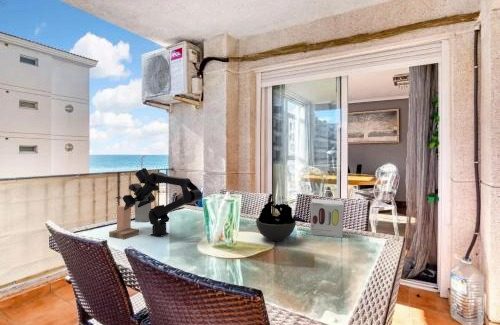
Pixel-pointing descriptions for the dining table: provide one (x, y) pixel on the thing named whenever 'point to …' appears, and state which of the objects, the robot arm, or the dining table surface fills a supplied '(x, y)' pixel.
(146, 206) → the skincare box
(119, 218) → the terracotta block
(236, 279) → the dining table surface
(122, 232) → the walnut slab
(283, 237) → the black rounded bowl
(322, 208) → the supplement box
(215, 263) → the dining table surface
